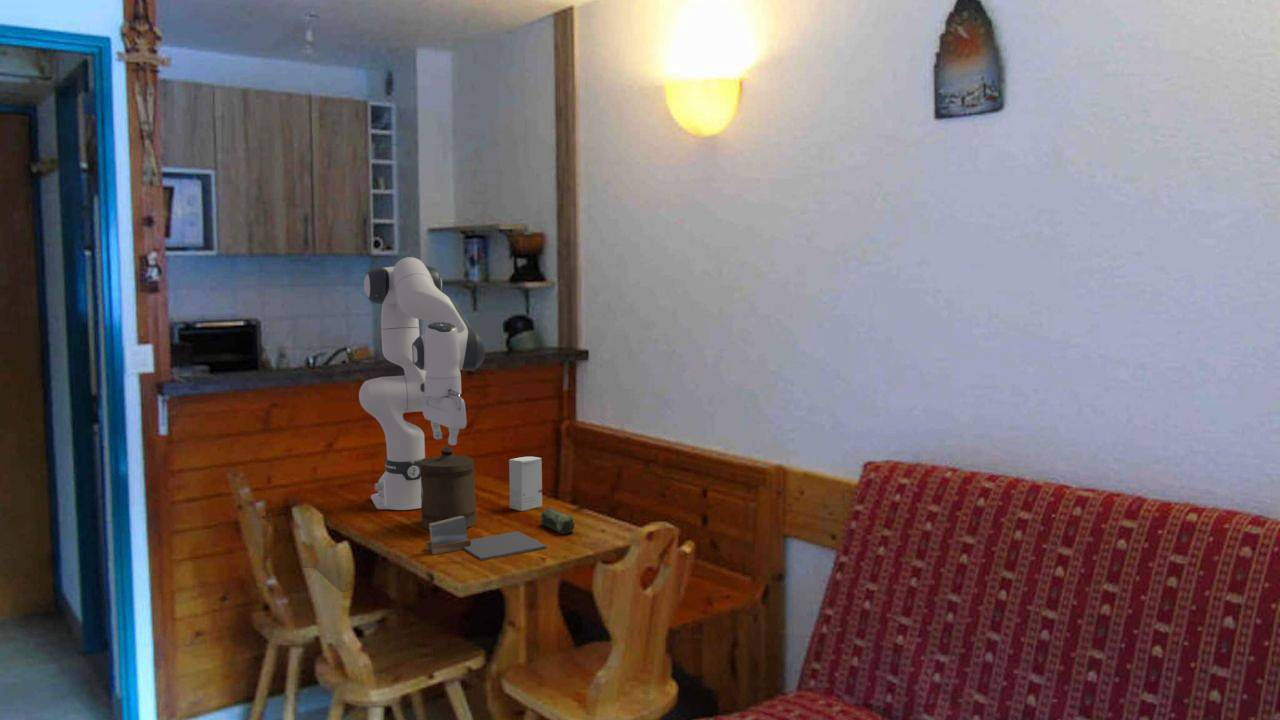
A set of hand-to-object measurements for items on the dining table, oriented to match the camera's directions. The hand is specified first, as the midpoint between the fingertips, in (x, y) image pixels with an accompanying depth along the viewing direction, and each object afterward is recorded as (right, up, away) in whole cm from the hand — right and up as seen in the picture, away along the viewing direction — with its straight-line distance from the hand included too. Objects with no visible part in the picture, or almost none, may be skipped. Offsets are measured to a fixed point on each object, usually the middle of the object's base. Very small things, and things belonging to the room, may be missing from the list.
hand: (445, 441), depth 253 cm
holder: (0, -28, +3) cm, 28 cm away
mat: (+13, -27, +5) cm, 31 cm away
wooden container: (-4, -25, +26) cm, 36 cm away
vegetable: (+27, -26, +21) cm, 43 cm away
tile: (+1, -27, +3) cm, 28 cm away
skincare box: (+16, -23, +43) cm, 51 cm away
